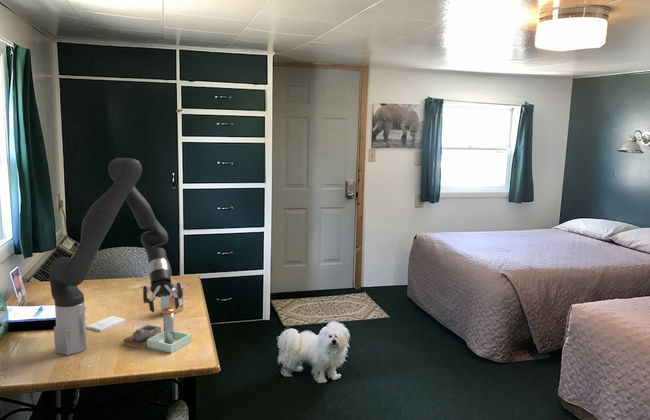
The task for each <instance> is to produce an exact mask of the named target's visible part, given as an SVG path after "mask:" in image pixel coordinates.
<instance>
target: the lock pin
mask: <svg viewBox="0 0 650 420" xmlns="http://www.w3.org/2000/svg"><path fill="white" fill-rule="evenodd" d="M173 312H174V308H164V309H163V310H162V313H161V314H162V319H163V321H162V322H163V331H164V343H167V344H173V343H174V331H175V322H174V321H175V320H174V318H175V317H174V314H173Z"/></svg>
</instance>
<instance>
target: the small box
mask: <svg viewBox="0 0 650 420" xmlns="http://www.w3.org/2000/svg"><path fill="white" fill-rule="evenodd" d="M181 289H182V293H183V294H184V288H183V287H182V286H181ZM172 290H173V291H174V293H175V294H177V295H178V292H177V290H176V289H175V288H173V289H172ZM164 308H174V312H173V315H174V314H177V313H180V312H183V311H184V295H183V296H182V299H179V308H178V309H176V310H175V304H174V299H172V298H171V297H169V296H166V297H164V296H162V297H160V313H161V314H163V313H162V310H163V309H164Z"/></svg>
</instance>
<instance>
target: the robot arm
mask: <svg viewBox="0 0 650 420" xmlns="http://www.w3.org/2000/svg"><path fill="white" fill-rule="evenodd" d="M107 171H108V175H109V177H110V178H111V180H112V181H113V184H112V185H111V187H110V188H109V189H108V190H107V191H106V192H104V193H103V194H102V195H101V196H100V197H98V198H97V200H95V201H94V202H93V203H92V204H91V205H90V207H89V209H88V210H87V213H86V214H85V216H84V218H83V220H82V222H81V229H80V230H81V231H80V241H79V243H78V244H79V245H78V247H77V248H76V250H75V253H74V254H73V256H72V257H66V256H61V257H57V258H56V259H54V260H53V262H52V263H51V264H50V267H49V282H50V293H51V296H52V298H53V300H54V309H55V326H53V337H54V352H55V353H57V354H61V355H64V356H67V357H68V356H70V355H74V354H78V353H81V352H83V351H85V350H86V349H87V347H88V346H87V343H88V342H87V328H86V326H87V325H86V310H85V309H86V308H85V296H84V295H85V294H84V293H83V291H81V289H80V288H79V287H78V286H79V285H81V284H82V283H83V282H84V281H85V279H86V278H87V277H88V274H89V273H90V272H89V271H90V270H91V268H92V265H93V262H94V260H95V257H96V255H97V253H98V251H99V249H100V247H101V244H102V243H103V241H104V239H105V237H106V235H107V233H108V232H109V230H110V229H111V227H112V225H113V223H114V221H115V219H116V216H118V213H119V212H120V210H121V208H122V206H123V205H124V203H125V201H126V203H127V204H128V206H129V208H130V210H131V212H132V214H133V216H134V217H135V220H136V222H137V225H138V227H139V228H140V229H142V230H148V231H144V232H143V233H142V234H141V236H140V242H141V245H143V248H144V249H145V252H146V255H147V259H148V260H147V261H148V271H149V273H148V274H149V280H150V286H148V287H147V286H146V285H144V286H143V287H142V296H143V297H142V298H143V299H142V300H143V303H144V304H148V306H149V311H150V312H151V313H155V304H154V301H155V300H156V298H157V297H158V298H161V297H162V296H164V297H166V296H169V297H171V298H172V299H174V304H175V310H176V309H178V308H179V299H182V296H183V297H184V292H183V293H182V289H181V287H182V285H181V283H180V282H177V283H175V284H173V283H172V279H171V273H170V266H169V262H168V257H167V252H166V250H165V248H163V247H160V246H163V245H165V244H167V243H168V241H169V234H168V232H167V230H166V229H165V227H164V226H162V225H161V224H160V222H159V221H158V219H157V217H156V216H155V213H154V212H153V209H152V207H151V205H150V203H149V202H148V201H147V199H146V198H145V197H144V196H143V195H142V194H141V193H140V192H139V190H138V189H137V187H135V186H136V184H137V183H138V182H139V180H140V177H141V175H142V172H143V167H142V164H141V162H140V161H139V160H138V159H135V158H128V157H116V158H113V159H112V160H111V161H110V162H109V164H108V166H107ZM173 288H175V289H176V290H177V292H178V295H177V294H175V293H174V291H173V290H172V289H173ZM149 292H151V293H152V294H151V296H150V298H148V294H149Z"/></svg>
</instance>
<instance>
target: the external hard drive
mask: <svg viewBox="0 0 650 420" xmlns="http://www.w3.org/2000/svg"><path fill="white" fill-rule="evenodd" d="M126 321H127V320H126V318H121V317H118V316H114V315H111V316H109V317H108V316H107V317H106V318H103V319H100V320H98V321H96V322H93V323H91V324H87V325H86V329H88V330H90V331H91V330H92V331H93V330H94V331H96V332H98V333H99V332H100V333H101V332H103V331H105V330H108V329H112V328H114V327H116V326H119V325H121V324H124V323H126Z"/></svg>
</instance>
